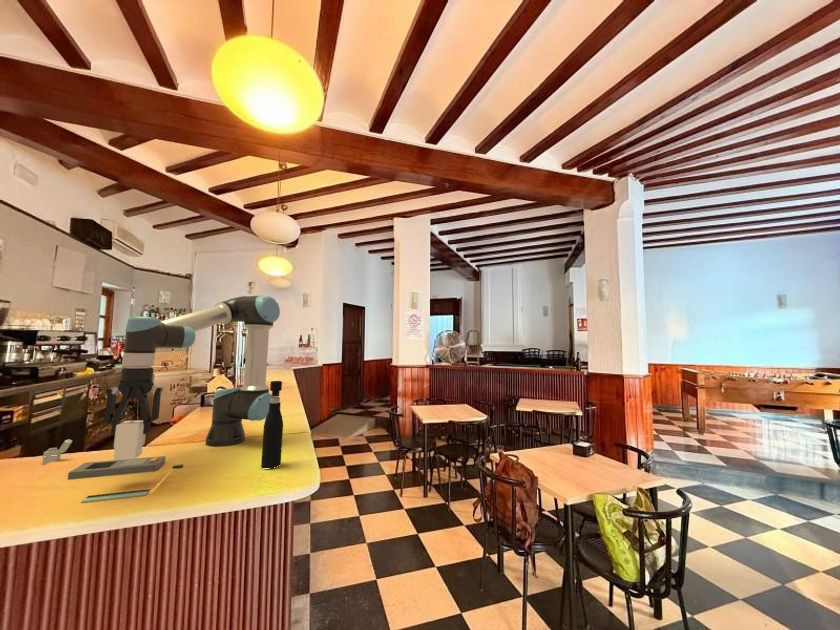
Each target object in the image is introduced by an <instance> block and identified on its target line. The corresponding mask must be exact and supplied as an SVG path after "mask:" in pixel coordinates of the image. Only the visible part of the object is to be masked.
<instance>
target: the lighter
mask: <svg viewBox="0 0 840 630" xmlns="http://www.w3.org/2000/svg"><path fill="white" fill-rule="evenodd" d="M72 442H73V440H72V439H69V438H68V439H65V440H64V441H63V443H62V444H61V446H60V447H59V449H58V447H51V448H49V447H48V449H47V450H46V451H43V456H42V461H41V462H42V463H41V465H42V466H45V465H47V464H49V463H51V462H52V463H53V462H59V461H61V457H62V456H61V455H62V454H63V453H65V452H66V451H67V450H68V449H69V447H70V446H71V444H72ZM51 455H57V456H51ZM44 456H46V457H44Z"/></svg>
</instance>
